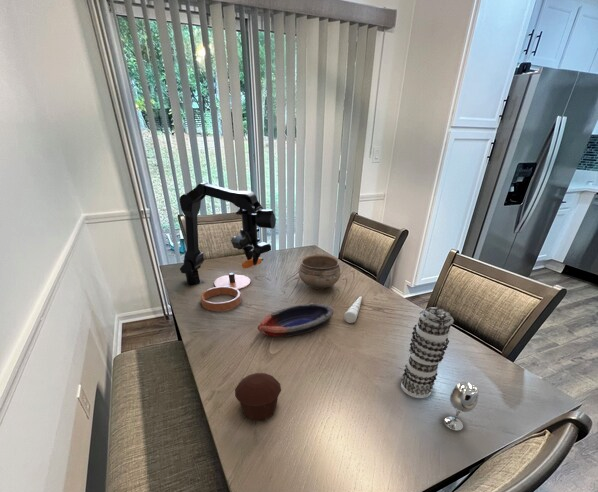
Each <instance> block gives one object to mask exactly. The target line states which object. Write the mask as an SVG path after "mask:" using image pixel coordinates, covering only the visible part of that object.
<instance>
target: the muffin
mask: <svg viewBox="0 0 598 492" xmlns="http://www.w3.org/2000/svg"><path fill="white" fill-rule="evenodd" d="M281 392H282V387H281V383H280V382H279V381H278V380H277V378H275V377H274V376H273V375H271V374H269V373H265V372H255V373H251V374H248V375H247V376H245V377H243V378H242V379H241V380H240V381H239V382H238V384H237V386H235V388H234V397H235V398H236V400H237V401H238V402H239V403H240V406H241V409H242V412H243V414H244V417H245V418H248V419H250V420H252V421H253V422H256V421H265V420H267V419H268V418H270V417H271V416H274V413H275V410H276V408H277V404H278V398H279V396H280V394H281Z"/></svg>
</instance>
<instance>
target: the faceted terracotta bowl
mask: <svg viewBox="0 0 598 492" xmlns="http://www.w3.org/2000/svg"><path fill="white" fill-rule="evenodd" d="M219 295H229V296H232V297H233V296H234V298H233V299H231V300H227V301H223V302H222V301H221V302H215V301H209V300H208V299H209V298H211V297H215V296H219ZM241 301H242V295H241V292H240V289H239V290H238V289H236V288H233V287H227V286H220V287H215V286H214V287H210V288H208V289H205V290H204V291H203V292H201V295H200V302H201V306H202V307H203V309H206V311H207V310H208V311H212V312H224V311H225V312H226V311H229V310H232V309H235V308H236V307H238V306H239V305H240V304H241V303H242V302H241Z"/></svg>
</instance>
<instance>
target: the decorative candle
mask: <svg viewBox="0 0 598 492" xmlns="http://www.w3.org/2000/svg"><path fill="white" fill-rule="evenodd" d="M418 316H419V317H418V322H417V324H415V325H414V326H413V328H412V330H413V331H412V332H411V334H412V336H411V339H410V341H411V342H410V343H409V349H408V354H409V355H408V357H409V358H408V359H407V362H406V364H404V365H405V366H404V367H405V368H404V369H403V371H404V373H402V378H401V383H400V384H401V385H400V388H401V390H402V391H403V392H404V393H405V394H407V396H410V397H412V398H416V399H425V398H428V397H429V396H431V393H432V390H433V389H434V386H435V381H436V380H437V376H438V369H439V364H441V363H442V361H443V359H444V356H445V354H446V350H447V349H448V348H449V347H448V345H449V343H450V340H449V335H450V332H451V327H452V325H453V324H454V323H455V320H454V318H453V316H452V315H451V314H450V312H449V311H447V310H446V309H444V308H442V307H436V306H433V307H428V308H426V309H425V310H422V311H420V312H419V313H418Z"/></svg>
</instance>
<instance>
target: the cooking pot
mask: <svg viewBox="0 0 598 492" xmlns="http://www.w3.org/2000/svg"><path fill="white" fill-rule="evenodd" d="M340 264H341V261H340V259H339V258H338V257H336V256H333V255H330V254H322V253H315V254H309V255H305V256H303V257H301V259H300V265H299V268H298V277H299V279H300V280H301V282H303V283H304V284H305V285H306V286H308V287H310V288H313V289H315V290H324V289H327V288H329V287H332V286H334V285H335V284H337V282H338V281H339V280H340V278H341V276H342V275H341V267H340Z"/></svg>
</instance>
